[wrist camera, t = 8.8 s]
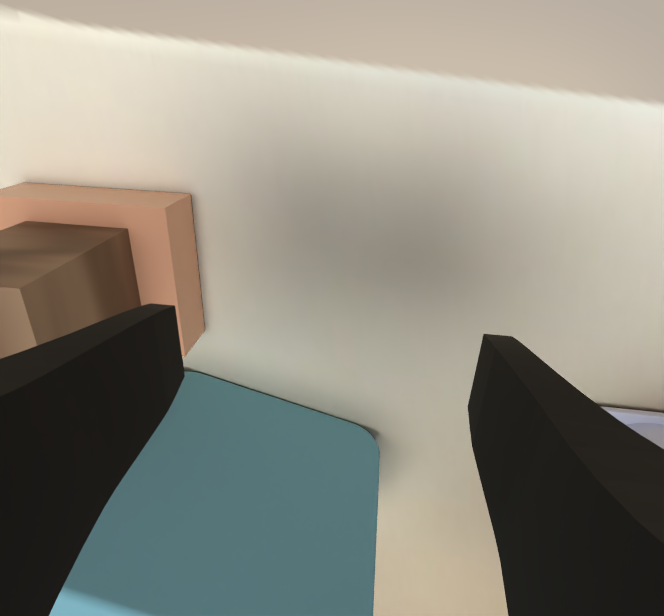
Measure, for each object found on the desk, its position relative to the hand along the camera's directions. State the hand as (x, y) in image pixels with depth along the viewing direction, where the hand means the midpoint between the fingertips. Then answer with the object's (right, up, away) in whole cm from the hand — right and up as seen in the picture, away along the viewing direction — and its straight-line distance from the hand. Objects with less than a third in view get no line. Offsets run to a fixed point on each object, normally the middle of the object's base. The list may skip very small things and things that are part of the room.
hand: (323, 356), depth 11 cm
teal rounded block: (-3, -6, +15) cm, 17 cm away
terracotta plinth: (-10, +3, +11) cm, 16 cm away
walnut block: (-11, +3, +9) cm, 14 cm away
